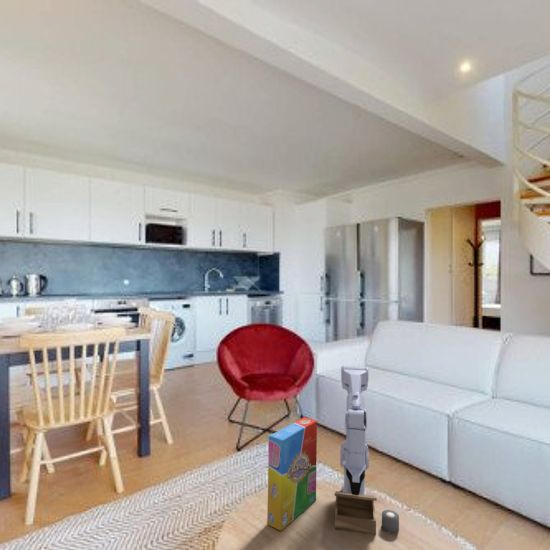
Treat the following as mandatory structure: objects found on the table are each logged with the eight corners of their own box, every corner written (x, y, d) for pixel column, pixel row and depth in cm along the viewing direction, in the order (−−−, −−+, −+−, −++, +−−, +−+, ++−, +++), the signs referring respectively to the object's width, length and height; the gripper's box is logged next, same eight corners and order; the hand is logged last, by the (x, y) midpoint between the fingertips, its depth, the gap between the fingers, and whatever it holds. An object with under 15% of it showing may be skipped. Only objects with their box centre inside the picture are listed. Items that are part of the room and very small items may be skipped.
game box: (280, 532, 111) (281, 440, 111) (266, 525, 114) (267, 435, 114) (316, 499, 127) (317, 420, 128) (303, 494, 131) (303, 416, 131)
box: (336, 505, 124) (336, 493, 124) (373, 510, 122) (373, 497, 122) (334, 529, 112) (335, 515, 112) (376, 534, 110) (376, 521, 110)
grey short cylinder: (381, 521, 116) (381, 508, 116) (397, 524, 115) (397, 510, 115) (382, 532, 111) (382, 518, 111) (400, 535, 110) (400, 521, 110)
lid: (335, 493, 124) (335, 491, 124) (373, 497, 122) (373, 495, 122) (334, 495, 113) (334, 493, 114) (376, 500, 111) (376, 498, 111)
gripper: (342, 438, 122) (342, 479, 122) (342, 459, 108) (341, 506, 108) (364, 440, 121) (364, 482, 121) (367, 461, 107) (366, 509, 107)
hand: (355, 493), depth 114 cm, fingers closed
